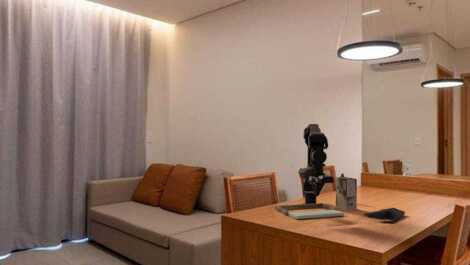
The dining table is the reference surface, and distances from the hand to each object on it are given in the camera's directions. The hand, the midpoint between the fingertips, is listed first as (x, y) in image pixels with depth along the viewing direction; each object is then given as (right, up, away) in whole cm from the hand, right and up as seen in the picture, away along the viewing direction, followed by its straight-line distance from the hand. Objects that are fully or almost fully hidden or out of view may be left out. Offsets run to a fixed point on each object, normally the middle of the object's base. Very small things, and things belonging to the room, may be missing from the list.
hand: (316, 196), depth 155 cm
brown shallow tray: (-3, -10, +9) cm, 14 cm away
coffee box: (+19, -10, +18) cm, 28 cm away
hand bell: (+23, -10, +39) cm, 46 cm away
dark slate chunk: (+32, -11, +4) cm, 34 cm away
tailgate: (-1, -9, +4) cm, 9 cm away
